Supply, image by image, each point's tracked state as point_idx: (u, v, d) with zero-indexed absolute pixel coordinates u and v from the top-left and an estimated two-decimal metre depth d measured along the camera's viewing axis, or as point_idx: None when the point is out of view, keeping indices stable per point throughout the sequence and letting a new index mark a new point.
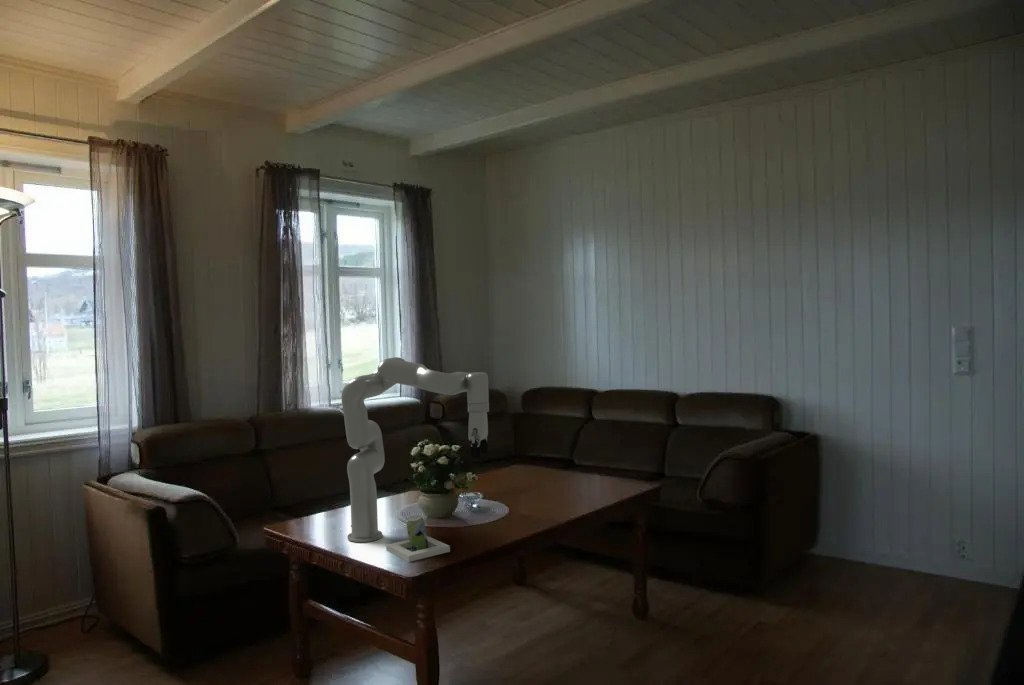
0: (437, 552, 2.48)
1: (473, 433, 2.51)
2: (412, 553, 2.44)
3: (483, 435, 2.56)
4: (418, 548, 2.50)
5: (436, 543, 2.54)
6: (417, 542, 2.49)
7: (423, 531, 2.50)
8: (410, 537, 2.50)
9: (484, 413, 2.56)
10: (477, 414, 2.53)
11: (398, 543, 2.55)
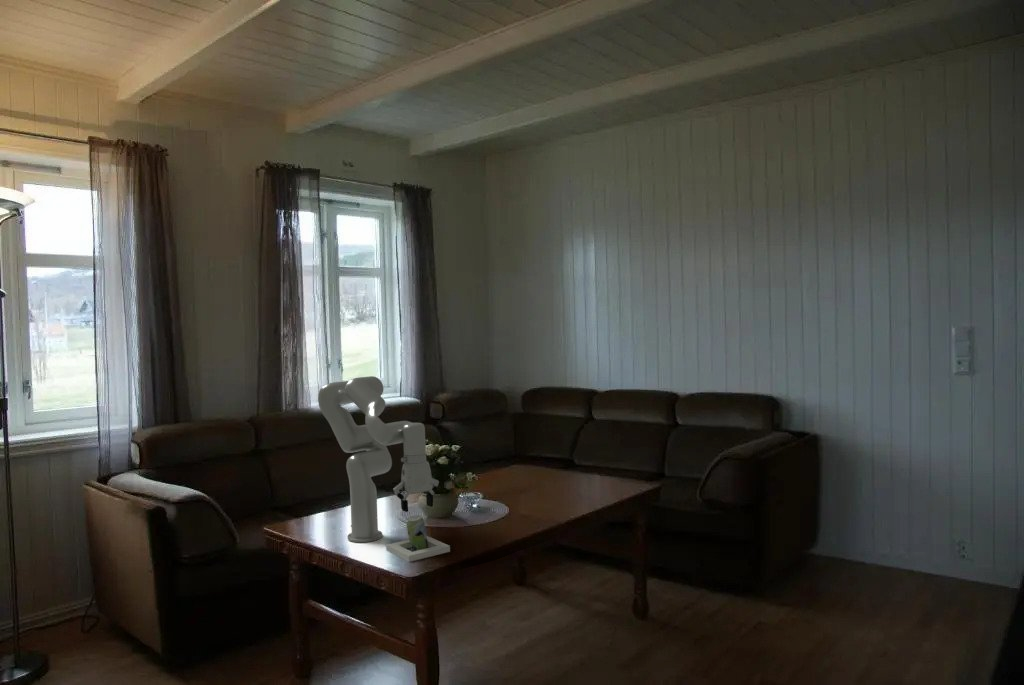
0: (437, 552, 2.48)
1: (434, 479, 2.56)
2: (412, 553, 2.44)
3: None
4: (418, 548, 2.50)
5: (436, 543, 2.54)
6: (417, 542, 2.49)
7: (423, 531, 2.50)
8: (410, 537, 2.50)
9: None
10: None
11: (398, 543, 2.55)
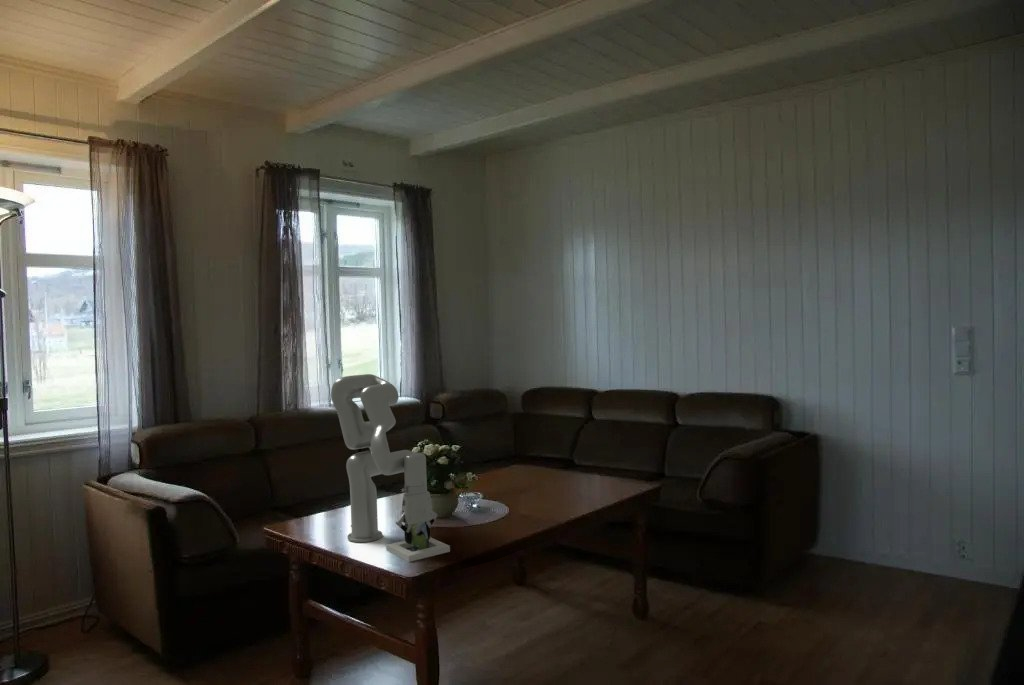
0: (437, 552, 2.48)
1: (433, 511, 2.56)
2: (412, 553, 2.44)
3: None
4: (419, 547, 2.50)
5: (436, 543, 2.54)
6: (418, 542, 2.50)
7: (424, 531, 2.51)
8: (411, 537, 2.50)
9: None
10: None
11: (398, 543, 2.55)
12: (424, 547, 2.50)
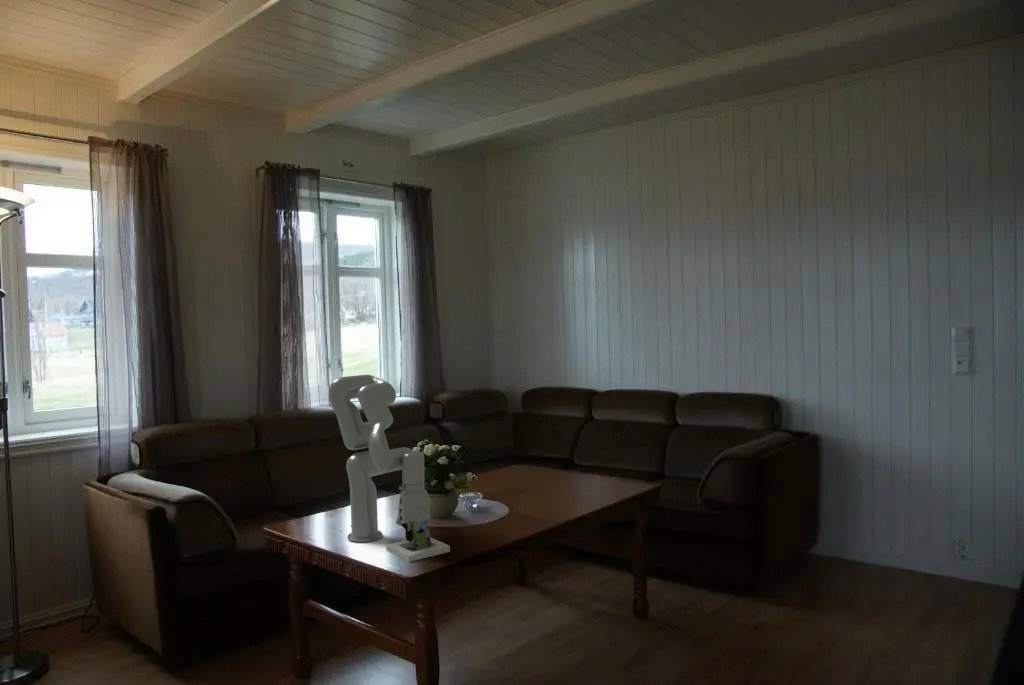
0: (437, 552, 2.48)
1: None
2: (412, 553, 2.44)
3: None
4: (419, 545, 2.51)
5: (436, 543, 2.54)
6: (418, 539, 2.51)
7: (425, 529, 2.52)
8: (412, 534, 2.52)
9: None
10: None
11: (398, 543, 2.55)
12: (424, 545, 2.51)
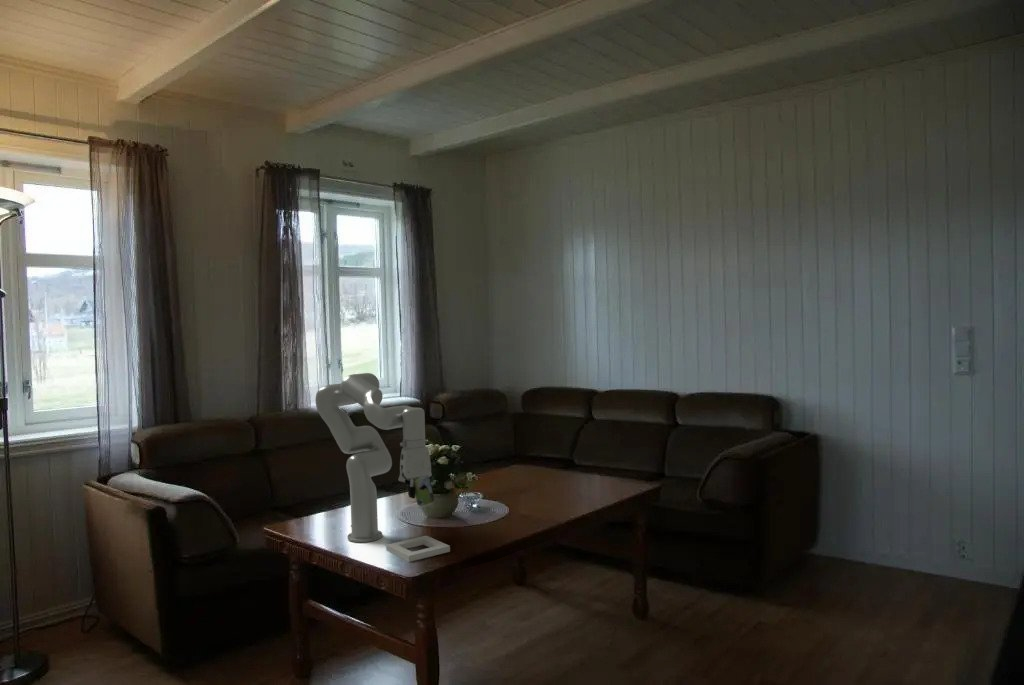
0: (437, 552, 2.48)
1: None
2: (412, 553, 2.44)
3: None
4: (423, 501, 2.50)
5: (436, 543, 2.54)
6: (421, 496, 2.50)
7: (428, 485, 2.51)
8: (415, 491, 2.51)
9: None
10: None
11: (398, 543, 2.55)
12: (428, 501, 2.51)
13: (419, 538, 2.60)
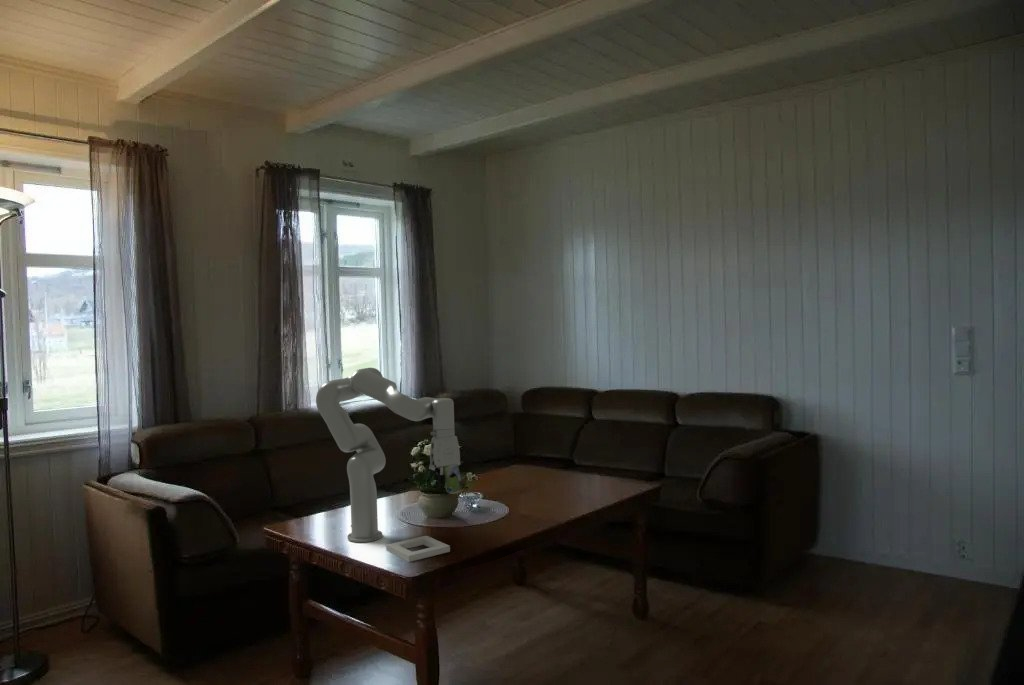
0: (437, 552, 2.48)
1: None
2: (412, 553, 2.44)
3: None
4: (452, 489, 2.58)
5: (436, 543, 2.54)
6: (451, 483, 2.58)
7: (457, 473, 2.59)
8: None
9: None
10: None
11: (398, 543, 2.55)
12: (457, 489, 2.59)
13: (419, 538, 2.60)
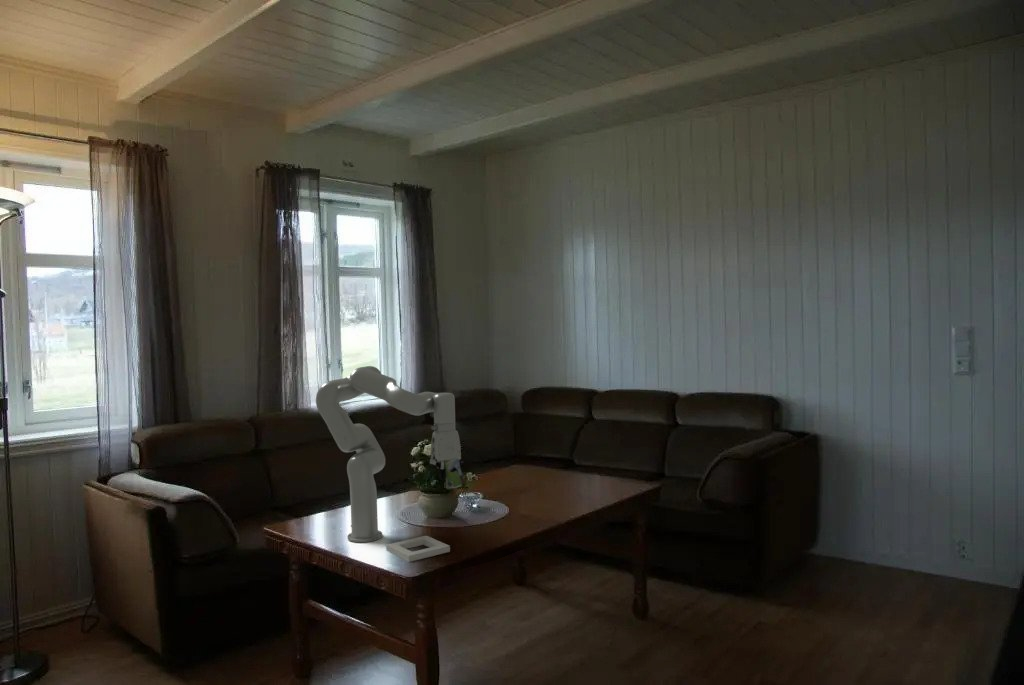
0: (437, 552, 2.48)
1: None
2: (412, 553, 2.44)
3: None
4: (453, 483, 2.59)
5: (436, 543, 2.54)
6: (451, 478, 2.59)
7: (458, 467, 2.59)
8: None
9: None
10: None
11: (398, 543, 2.55)
12: (458, 483, 2.59)
13: (419, 538, 2.60)
